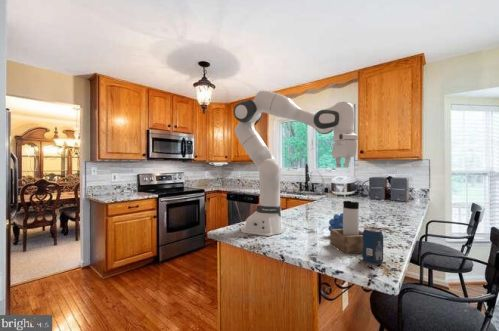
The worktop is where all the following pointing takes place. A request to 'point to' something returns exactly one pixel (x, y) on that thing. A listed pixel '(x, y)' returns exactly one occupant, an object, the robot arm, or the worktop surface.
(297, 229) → the worktop surface
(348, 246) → the wooden cubby frame
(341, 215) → the grapes
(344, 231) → the travel mug
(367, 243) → the soda can
